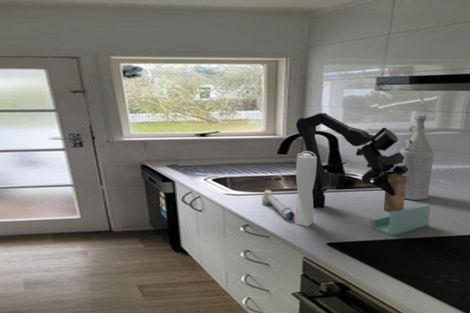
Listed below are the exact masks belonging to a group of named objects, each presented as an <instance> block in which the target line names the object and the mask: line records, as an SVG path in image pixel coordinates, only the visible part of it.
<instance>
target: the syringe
mask: <svg viewBox="0 0 470 313" xmlns="http://www.w3.org/2000/svg"><path fill="white" fill-rule="evenodd" d="M261 200H262V202H261V203H262V204H263V205H265V206H274V208H275V209H277V211H278V212H279V213H280V216H282V218H284V219H286V221H293V220H294V219H295V217H296V213H295V212H293V211H292V210H293V209H292V208H290V207H289V206H287V205H285V203H284V202H282V201H281V200H280V199H278V198H277V197H276V196H274V195H273V192H272V190H270V189H269V190H268V189H265V191H264V192H263V195H261Z"/></svg>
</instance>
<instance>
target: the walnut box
mask: <svg viewBox="0 0 470 313" xmlns="http://www.w3.org/2000/svg"><path fill="white" fill-rule="evenodd" d="M406 178H407V176H402V175H398V174H391V175H388V182H389V184H390V185H391V187H392V189H393V191H394V193H395V195H394V196H392V195H390V194H389V193H387V192H385V191H384V201H383V211H385V212H387V213H390V212H393V211H397V210H402V209H405V208H404V206H405V199H406V198H405V189H406Z"/></svg>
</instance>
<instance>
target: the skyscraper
mask: <svg viewBox="0 0 470 313" xmlns="http://www.w3.org/2000/svg"><path fill="white" fill-rule="evenodd" d="M307 152H308V153H312V154H313V155H314V156H315V157H313V156H311V154H308V153H307ZM316 165H317V157H316V155H315V154H314V153H313V152H310V151H307V150H304V151H301V153H298V154H296V174H295V175H296V178H295V179H296V180H295V181H296V189H297V199H296V208H295V218H294V219H295V220H294V224H295V225H300V226H304V227H309V226H310V225H311V224H312V223H314V207H313V195H312V190H313V186H314V182H315V176H316Z"/></svg>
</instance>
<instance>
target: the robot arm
mask: <svg viewBox="0 0 470 313" xmlns="http://www.w3.org/2000/svg"><path fill="white" fill-rule="evenodd" d="M320 125H323V126H325V127H327V128H328V129H330V130H332V131H334V132H336V134H339V135H341V136H342V137H343V139H344V140H346V142H348V143H349V144H350V145H351V146H353V147H359V148H357V151H356V152H355V155H356V156H360V157H361V156H363V158H364V159H365V161H366V162H367V164H366V167H367V168H368V171H366V172H365V173H364V174H363V175H362V176H361V181H362V183H363V184H364V185H367V184H370V183H371V185H373V186H375V187H377V188H378V189H380V190H382V191H383V192H384V193H385V192H387V193H389V194H390V195H392V196H394V195H395V193H394V191H393V189H392V187H391V185H390V184H389V182H388V175H391V174H398V175H403V174H404V173H406V172H407V171H408V168H407V167H406V166H404V165H400V166H399V163H403V160H404V156H403V155H402V154H401V153H400V151H399V152H396V153H393V154H392V155H388V156H387V155H383V154H382V153H381V151H383V152H384V151H385V152H386V151H387V150H388V149H390V147H392V146H393V145H394V144H396V143H397V142H398V141H399V140H398V136H397V135H396V134H395V132H392V131H391V130H389V129H388V128H387V127H382V128H380V130H379V131H378V132H377V133H376V134H374V135H373V134H370V133H369V132H368V131H366V130H363V129H361V128H357V127H356V128H355V127H352V126H350V125H347V124H345V123H343V122H342V121H340V120H338V119H336V118H334V117H332V116H330V115H328V114H327V113H326V112H319V113H316V114H314V115H311V116H308V117H300V118H298V119H297V121H296V123H295V126H296V129H297V131H298V134H299V135H300V137H301V138H302V139H303V142H304V147H305V151H310V152H313V153H314V154H315V155H316V157H317V165H316V176H315V182H314V186H313V190H312V195H313V208H319V209H320V208H323V209H324V208H325V204H326V196H325V193H324V192H326V191H327V189H328V188H329V187H330V186H331V181H332V178H331V176H330V172H329V171H326V170H325V169H324V167H323V164H322V160H321V155H320V153H319V151H320V150H319V149H318V145H317V140H316V132H317V127H318V126H320ZM368 143H369V144H368ZM361 146H362V147H361ZM360 147H361V148H360ZM306 153H308V152H306ZM308 154H311V156H313V157H315V156H314V155H313V154H312V153H308ZM395 165H396V166H395ZM369 168H370V169H369ZM371 181H373V182H371Z"/></svg>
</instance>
